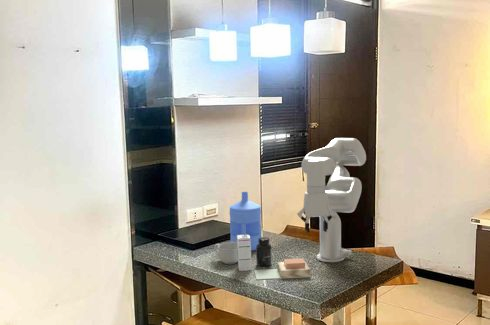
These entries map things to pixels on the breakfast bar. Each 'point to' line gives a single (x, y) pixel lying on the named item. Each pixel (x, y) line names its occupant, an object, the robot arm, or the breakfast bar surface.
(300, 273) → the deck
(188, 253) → the breakfast bar surface
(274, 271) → the mat
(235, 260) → the teacup
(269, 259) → the supplement bottle
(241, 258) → the syrup box
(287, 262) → the tile
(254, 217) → the water jug
